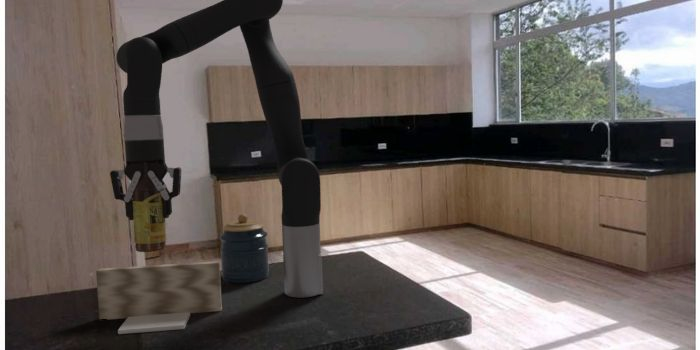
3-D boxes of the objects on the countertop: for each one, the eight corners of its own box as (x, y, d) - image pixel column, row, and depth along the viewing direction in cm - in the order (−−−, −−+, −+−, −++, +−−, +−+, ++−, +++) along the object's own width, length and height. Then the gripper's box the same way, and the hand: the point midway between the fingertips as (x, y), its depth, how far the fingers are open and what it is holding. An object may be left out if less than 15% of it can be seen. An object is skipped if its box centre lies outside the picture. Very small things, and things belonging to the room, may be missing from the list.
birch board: (221, 308, 122) (219, 261, 122) (221, 310, 121) (218, 262, 120) (102, 317, 119) (98, 268, 118) (99, 320, 117) (96, 270, 116)
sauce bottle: (156, 253, 108) (150, 155, 107) (128, 253, 110) (122, 156, 108) (173, 246, 115) (167, 153, 113) (146, 246, 116) (141, 154, 114)
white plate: (190, 315, 118) (190, 312, 118) (184, 328, 110) (184, 325, 110) (128, 320, 117) (128, 316, 116) (118, 334, 109) (117, 330, 109)
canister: (264, 283, 142) (261, 217, 140) (215, 284, 142) (212, 218, 141) (273, 270, 155) (270, 209, 153) (228, 271, 155) (225, 210, 154)
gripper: (183, 136, 115) (188, 214, 116) (112, 139, 113) (118, 217, 114) (177, 137, 107) (182, 219, 109) (101, 139, 106) (107, 223, 107)
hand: (149, 218), depth 112 cm, fingers closed on sauce bottle, 6 cm apart
